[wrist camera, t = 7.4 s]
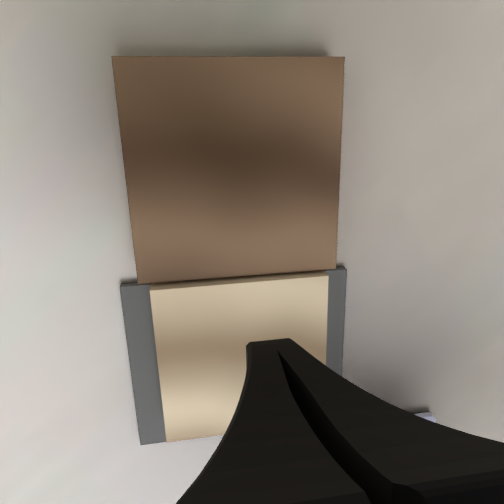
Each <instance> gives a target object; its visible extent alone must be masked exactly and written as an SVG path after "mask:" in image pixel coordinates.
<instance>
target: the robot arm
mask: <svg viewBox="0 0 504 504" xmlns="http://www.w3.org/2000/svg"><path fill="white" fill-rule="evenodd" d="M246 369H247V370H246V376H245V381H244V385H243V388H242V392H241V395H240V399H239V402H238V405H237V407H236V410H235V413H234V415H233V417H232V420H231V422H230V424H229V426H228V428H227V430H226V432H225V434H224V436H223V438H222V440H221V442H220V444H219V445H218V447H217V449H216V450H215V452H214V453H213V455H212V457H211V458H210V460H209V461H208V463H207V464H206V466H205V467H204V469H203V470H202V472H201V473H200V474H199V476H198V477H197V478H196V480H195V481H194V482H193V483H192V485H191V486H190V487H189V488H188V490H187V491H186V492H185V493H184V494H183V496H182V497H181V498H180V499H179V500H178V502H177V503H176V504H504V443H502V442H498V441H494V440H490V439H487V438H483V437H479V436H475V435H471V434H468V433H465V432H462V431H459V430H456V429H452V428H449V427H446V426H443V425H440V424H438V423H436V418H435V417H434V415H433V414H432V413H430V412H425V413H418V414H412V413H410V412H407V411H405V410H402V409H400V408H398V407H396V406H394V405H391V404H389V403H387V402H385V401H383V400H381V399H380V398H378V397H376V396H374V395H372V394H370V393H368V392H366V391H364V390H363V389H361V388H359V387H358V386H356V385H354V384H353V383H351V382H350V381H348V380H346V379H345V378H343V377H342V376H340V375H339V374H337V373H336V372H334V371H333V370H331V369H330V368H329V367H327V366H326V365H324V364H323V363H322V362H320V361H319V360H318V359H316V358H315V357H314V356H312V355H311V354H310V353H309V352H307V351H306V350H305V349H303V348H302V347H301V346H300V345H298V344H297V343H296V342H295V341H293V340H292V339H290V338H284V339H274V340H264V341H254V342H249V343H248V344H247V345H246Z"/></svg>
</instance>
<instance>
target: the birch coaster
mask: <svg viewBox="0 0 504 504" xmlns="http://www.w3.org/2000/svg"><path fill="white" fill-rule="evenodd" d="M328 280H329V276H328V275H327V274H326V273H325V272H324V271H323V270H312V271H299V272H286V273H273V274H260V275H247V276H234V277H221V278H208V279H195V280H182V281H169V282H156V283H151V287H150V299H151V308H152V316H153V325H154V334H155V343H156V352H157V361H158V370H159V379H160V388H161V397H162V406H163V415H164V423H165V432H166V441H167V442H173V441H180V440H187V439H195V438H202V437H209V436H217V435H224V434H225V432H226V430H227V428H228V426H229V424H230V422H231V420H232V417H233V415H234V413H235V410H236V407H237V405H238V402H239V399H240V395H241V392H242V388H243V385H244V381H245V376H246V370H247V369H246V345H247V344H248V343H249V342H254V341H264V340H274V339H284V338H290V339H292V340H293V341H295V342H296V343H297V344H298V345H300V346H301V347H302V348H303V349H305V350H306V351H307V352H309V353H310V354H311V355H312V356H314V357H315V358H316V359H318V360H319V361H320V362H322V363H323V364H324V365H326V344H327V312H328Z"/></svg>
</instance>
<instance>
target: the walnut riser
mask: <svg viewBox="0 0 504 504" xmlns="http://www.w3.org/2000/svg"><path fill="white" fill-rule="evenodd" d="M344 61H345V57H197V56H112V65H113V73H114V82H115V90H116V99H117V108H118V116H119V125H120V133H121V142H122V151H123V159H124V168H125V176H126V185H127V194H128V202H129V211H130V219H131V228H132V237H133V245H134V254H135V262H136V271H137V280H138V284H143V283H156V282H169V281H182V280H195V279H208V278H221V277H234V276H247V275H260V274H273V273H286V272H299V271H312V270H325V269H336V255H337V231H338V207H339V182H340V158H341V134H342V109H343V85H344Z"/></svg>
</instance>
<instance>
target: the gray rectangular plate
mask: <svg viewBox="0 0 504 504" xmlns="http://www.w3.org/2000/svg"><path fill="white" fill-rule="evenodd" d="M323 271H324V272H325V273H326V274H327V275H328V276H329V280H328V312H327V344H326V366H327V367H329V368H330V369H331V370H333V371H334V372H336V373H337V374H339V375H340V376H342V358H343V338H344V318H345V297H346V277H347V269H346V268H345V267H336V269H325V270H323ZM150 287H151V283H143V284H138V283H126V284H121V285H120V293H121V300H122V308H123V316H124V323H125V331H126V338H127V346H128V354H129V361H130V369H131V376H132V384H133V392H134V399H135V407H136V415H137V422H138V430H139V437H140V445H145V444H153V443H161V442H167V441H166V432H165V423H164V415H163V406H162V397H161V388H160V379H159V370H158V361H157V352H156V343H155V334H154V325H153V316H152V308H151V299H150Z"/></svg>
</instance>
